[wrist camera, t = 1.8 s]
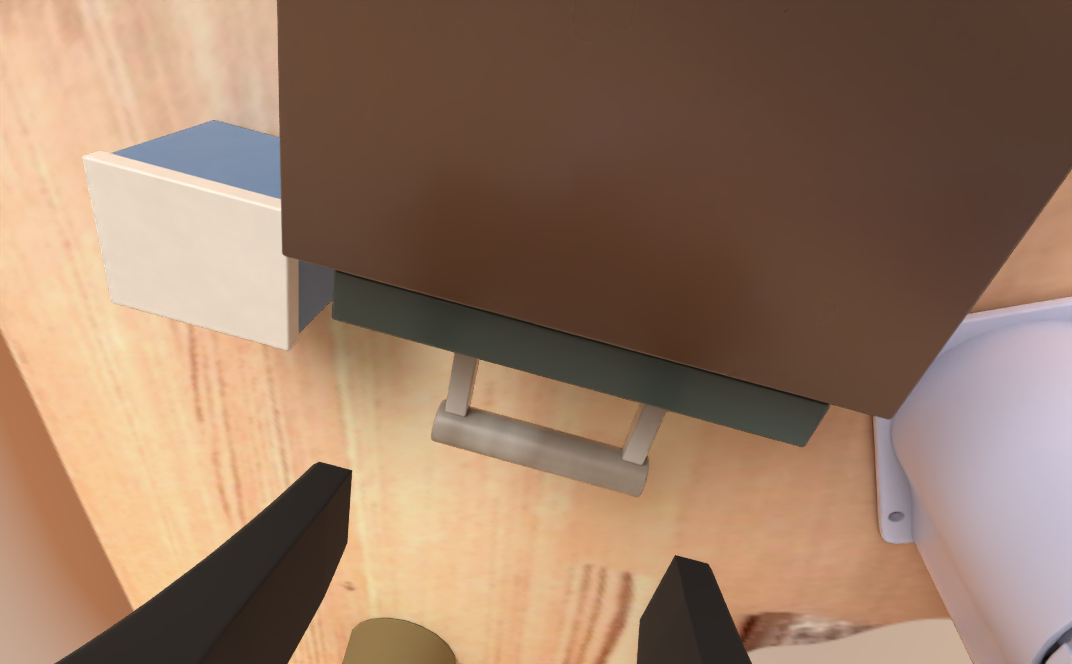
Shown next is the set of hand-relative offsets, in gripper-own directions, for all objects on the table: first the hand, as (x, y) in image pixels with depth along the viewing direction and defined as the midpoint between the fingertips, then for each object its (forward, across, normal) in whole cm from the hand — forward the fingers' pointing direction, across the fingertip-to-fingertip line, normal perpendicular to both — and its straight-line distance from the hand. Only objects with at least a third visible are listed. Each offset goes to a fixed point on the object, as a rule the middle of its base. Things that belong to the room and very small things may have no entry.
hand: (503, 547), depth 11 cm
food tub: (+11, +9, -1) cm, 14 cm away
